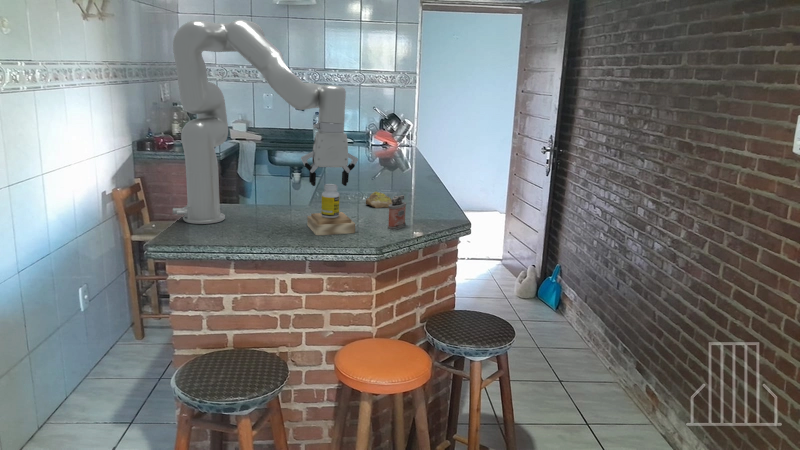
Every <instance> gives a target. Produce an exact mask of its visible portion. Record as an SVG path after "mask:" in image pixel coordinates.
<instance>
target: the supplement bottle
mask: <svg viewBox="0 0 800 450" xmlns="http://www.w3.org/2000/svg"><path fill="white" fill-rule="evenodd" d="M323 190H324V191H323V192H322V193H321V211H320V213H321V216H322V217H324V218H337V217H338V216H339V212H340V193H339V192H338V184H334V183H326V184H324V186H323Z"/></svg>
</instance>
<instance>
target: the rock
mask: <svg viewBox="0 0 800 450" xmlns="http://www.w3.org/2000/svg"><path fill="white" fill-rule="evenodd" d="M369 195H370V196H368V197H367V198H366V200H365V205H369V206H371V207H373V208H374V209H382V208H385V209H389V208H388V206H389V205H390V204H392V198H391V197H389V196H387V195H386V194H385V193H383V192H379V191H374V192H373V193H371V194H369Z"/></svg>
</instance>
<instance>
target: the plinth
mask: <svg viewBox="0 0 800 450" xmlns="http://www.w3.org/2000/svg"><path fill="white" fill-rule="evenodd" d="M306 219H307V223H306V225H307V226H308V228H309V229H310V230H311V232H312V233H313V234H314V235H315V236H328V235H329V236H330V235H332V236H333V235H343V234H345V235H347V234H355V233H356V223H355V222H354V221H353V219H352V218H350V217H349V216H347V214H345V213H344V212H342V211H339V216H338V217H337V218H324V217H322V216H321V212H318V213H317V212H315V213H311V214H310V215H307V218H306Z"/></svg>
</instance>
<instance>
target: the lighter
mask: <svg viewBox="0 0 800 450" xmlns="http://www.w3.org/2000/svg"><path fill="white" fill-rule="evenodd" d="M391 200H392V204H390V205H389V206H388V208H387V209H388V225H387V229H388V230H389V229H390V230H391V231H392V230H393V231H395V229H396V230H398V229H402V228H405V227H406V206H407V202H405V201H403V200H405V195H403V194H402V195H401V194H400V195H398V196H397V195H395V196H394V197H393V198H391ZM390 230H389V231H390Z"/></svg>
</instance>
